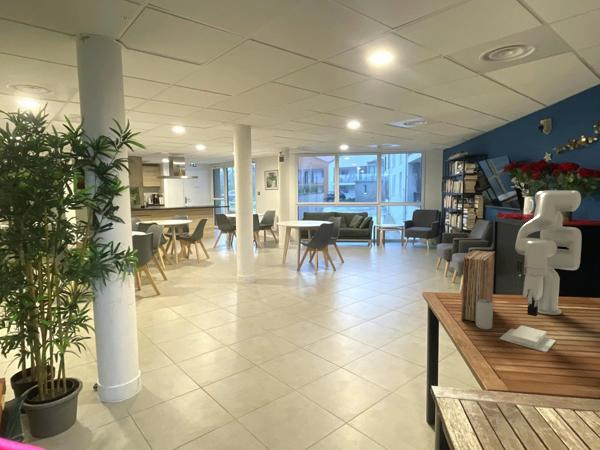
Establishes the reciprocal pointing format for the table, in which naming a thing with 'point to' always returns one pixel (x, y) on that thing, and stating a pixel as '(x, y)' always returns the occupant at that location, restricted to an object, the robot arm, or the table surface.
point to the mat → (542, 346)
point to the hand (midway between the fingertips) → (532, 314)
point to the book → (477, 281)
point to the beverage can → (484, 314)
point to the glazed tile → (528, 336)
